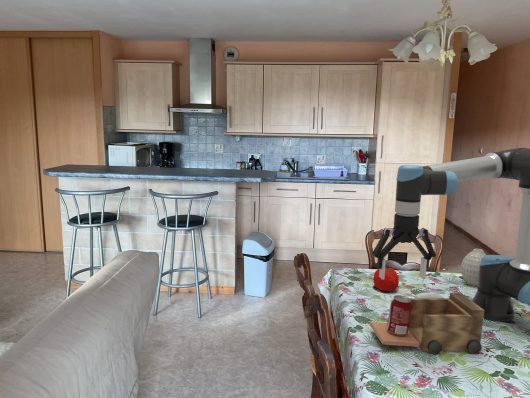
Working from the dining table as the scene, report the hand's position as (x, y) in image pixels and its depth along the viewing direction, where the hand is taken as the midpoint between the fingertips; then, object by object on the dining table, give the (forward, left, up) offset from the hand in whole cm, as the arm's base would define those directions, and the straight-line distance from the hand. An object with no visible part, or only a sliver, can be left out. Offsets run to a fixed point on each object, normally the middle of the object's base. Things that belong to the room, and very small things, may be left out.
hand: (402, 277), depth 135 cm
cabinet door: (-4, -2, -20) cm, 21 cm away
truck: (-14, -5, -22) cm, 27 cm away
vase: (-36, -68, -22) cm, 81 cm away
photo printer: (-12, -14, -22) cm, 29 cm away
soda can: (0, 0, -19) cm, 19 cm away
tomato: (+4, -47, -22) cm, 53 cm away
